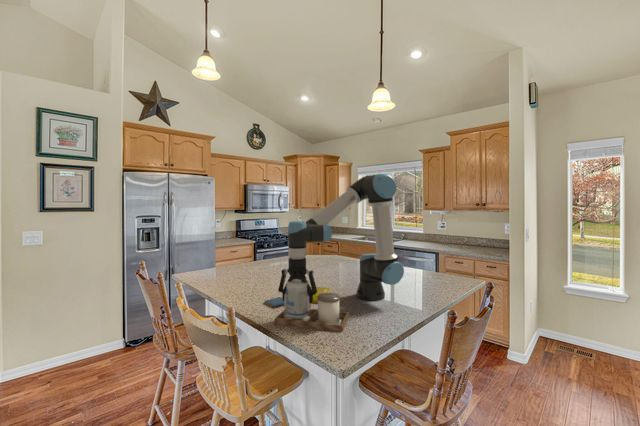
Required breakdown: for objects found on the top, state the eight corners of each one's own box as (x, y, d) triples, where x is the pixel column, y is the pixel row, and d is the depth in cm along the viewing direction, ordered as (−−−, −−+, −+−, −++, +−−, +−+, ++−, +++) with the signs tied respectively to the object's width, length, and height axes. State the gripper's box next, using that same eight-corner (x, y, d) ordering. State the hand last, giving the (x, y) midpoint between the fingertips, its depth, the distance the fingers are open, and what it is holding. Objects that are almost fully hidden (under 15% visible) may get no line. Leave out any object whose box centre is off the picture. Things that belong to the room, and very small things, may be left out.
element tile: (325, 304, 151) (325, 295, 150) (297, 302, 154) (297, 293, 154) (331, 295, 165) (331, 286, 165) (304, 293, 168) (304, 285, 168)
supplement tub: (281, 315, 129) (281, 281, 128) (297, 309, 136) (297, 277, 135) (298, 321, 122) (297, 285, 122) (313, 314, 130) (313, 281, 129)
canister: (341, 319, 129) (341, 293, 128) (337, 328, 120) (337, 300, 119) (320, 316, 131) (320, 292, 131) (314, 325, 122) (314, 298, 122)
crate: (348, 319, 131) (348, 312, 131) (342, 333, 117) (342, 325, 117) (287, 313, 138) (287, 306, 138) (274, 325, 124) (274, 318, 124)
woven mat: (280, 299, 159) (280, 296, 158) (292, 305, 151) (292, 301, 151) (262, 304, 152) (262, 300, 151) (274, 309, 144) (274, 305, 144)
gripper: (324, 257, 129) (324, 308, 130) (276, 254, 135) (277, 303, 136) (320, 260, 122) (320, 314, 123) (269, 257, 128) (270, 309, 128)
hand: (297, 309), depth 129 cm, fingers closed on supplement tub, 9 cm apart
